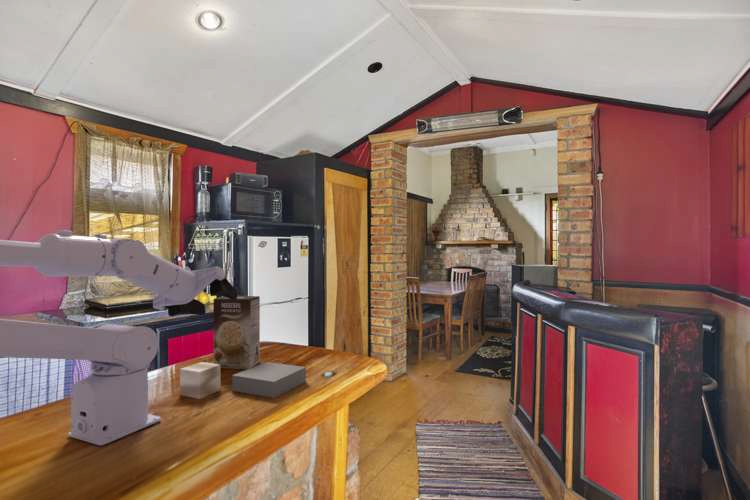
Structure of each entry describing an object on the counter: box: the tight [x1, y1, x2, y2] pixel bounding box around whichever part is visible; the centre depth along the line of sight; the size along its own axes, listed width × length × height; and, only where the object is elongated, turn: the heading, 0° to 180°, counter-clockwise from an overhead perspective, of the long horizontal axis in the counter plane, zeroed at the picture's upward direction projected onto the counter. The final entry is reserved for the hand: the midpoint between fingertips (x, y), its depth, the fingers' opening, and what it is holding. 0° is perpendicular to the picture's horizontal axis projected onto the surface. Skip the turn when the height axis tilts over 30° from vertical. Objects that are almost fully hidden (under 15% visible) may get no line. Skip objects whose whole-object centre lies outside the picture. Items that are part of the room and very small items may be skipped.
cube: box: [179, 361, 221, 400], centre depth 78 cm, size 5×5×5 cm
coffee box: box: [212, 295, 261, 370], centre depth 96 cm, size 9×6×16 cm
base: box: [231, 361, 307, 399], centre depth 81 cm, size 10×10×3 cm
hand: (219, 302), depth 81 cm, fingers open, 7 cm apart
